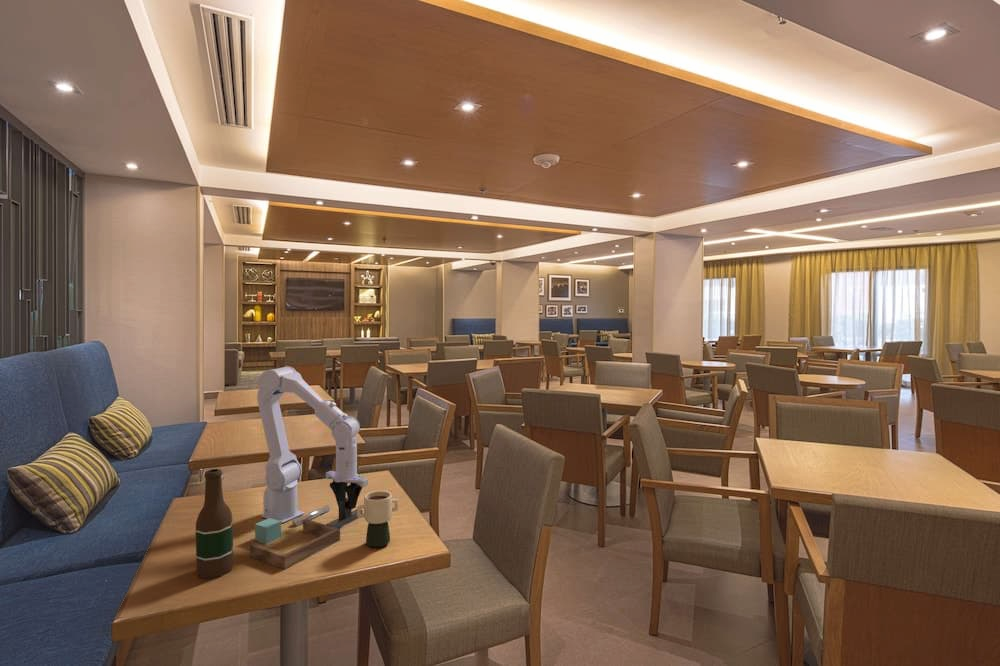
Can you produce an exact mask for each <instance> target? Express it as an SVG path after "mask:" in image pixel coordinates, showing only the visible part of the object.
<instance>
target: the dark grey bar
mask: <svg viewBox="0 0 1000 666" xmlns="http://www.w3.org/2000/svg"><path fill="white" fill-rule="evenodd" d="M338 502H339V507H338V518H336V519H334V520H332V521H330V522H328V523H326V525H328V526H331V527H335V528H338V529H340V528H342V527H344V526H346V525H348V524H350V523H352V522H354V521H356V520H358V519H359V518H358V517H357V509H355V510H350V509H349V507H348V497H346V498H343V499H341V500H339V501H338ZM361 514H363V510H362V509H361Z"/></svg>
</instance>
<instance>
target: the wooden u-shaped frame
mask: <svg viewBox="0 0 1000 666" xmlns="http://www.w3.org/2000/svg"><path fill="white" fill-rule="evenodd" d="M303 531H304V532H303ZM302 532H303V533H306V532H307V533H306V534H310V535H314V536H316V537H317V538H314V539H312V540H311V541H308V542H305V544H302V545H301V546H299V547H296V548H294V549H292V550H290V551H289V552H287V553H285V552H282V551H278V550H276V549H273V548H270V547H267V546H265V545H261V544H258V543H255V542H253V543H251V544H250V545H249V557H250V558H251V559H252V558H253V559H256V560H259V561H261V562H263V561H264V563H267V564H269V565H272V566H274V567H278V568H280V569H282V570H287V569H289V568H291V567H293V566H294V564H295V563H296V564H298V563H300V562H301V560H302V559H304V560H306V559H307V558H306V557H308V556H309V557H311V556H312V554H313V555H314V553H315V554H316V552H317V553H319V552H320V551H323V550H324V549H326V548H328V547H330V546H331V545H333V544H335V543H337V542H339V541H341V529H340V528H335V527H331V526H328V525H327V524H324V523H321V522H318V521H317V522H316V521H314V520H312V519H311V520H307V519H306V520H304V521H303V523H302ZM318 551H319V552H318ZM310 555H311V556H310ZM309 557H308V558H309ZM305 558H306V559H305ZM299 561H300V562H299ZM302 561H303V560H302ZM297 562H298V563H297ZM296 564H295V565H296ZM292 565H293V566H292ZM290 566H291V567H290Z"/></svg>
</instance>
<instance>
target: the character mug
mask: <svg viewBox="0 0 1000 666" xmlns="http://www.w3.org/2000/svg"><path fill="white" fill-rule="evenodd" d="M363 497H364V498H363V504H359V505H358V506H356V510H357V517H358V519H361V518H364V520H365V522H366V523H368V524H367V527H366V528H367V529H366V535H365V536H366V539H365V544H367V545H368V546H371V547H375V548H380V547H381V548H382V547H384V546H386V545H388V544H389V543H390V542H391V535H390V527H389V521H390V520H391V519H392V516H393V512H396V511H398V510H399V500H398V498H392V497H393V496H392V493H391V492H390V491H386V490H374V491H370V492H367V493H366V494H364V496H363ZM393 504H394V507H393ZM362 509H363V512H362V514H361V510H362Z"/></svg>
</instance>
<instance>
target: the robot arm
mask: <svg viewBox="0 0 1000 666" xmlns="http://www.w3.org/2000/svg"><path fill="white" fill-rule="evenodd" d="M257 384H258V392H257V394H256V400H257V405H258V410H259V414H260V418H261V423H262V427H263V431H264V435H265V440H266V441H265V442H266V445H267V450H268V453H269V458H268V461H267V463H266V464H265V479H264V480H265V481H264V482H265V484H266V486H267V487H266V488H265V489H264V491H263V501H262V502H263V503H262V504H263V513H262V514H261V515H260V517H261V518H264V519H268V518H272V519H275V520H278V521H281V524H283V523H286V522H288V521H291V520H294V519H296V518H299V516H300V517H301V516H303V515H305V511H302V510H299V508H298V483H299V479H300V477H301V476H302V473H303V468H302V465H301V464H300V462H299V461H298V458H297V455H296V454H294V453H293V452H292V451H290V446H289V443H288V438H287V432H286V428H285V427H286V426H285V423H284V419H283V414H282V410H281V406H280V402H279V401H280V399H281V398H282V396H283V395H284V394H285V393H293V394H295V395H296V396H298V398H300V399H301V400H302V401H303V402H305V403H306V404H307V405H309V406H310V407H311V408H312V409H314V416H315V417H316V418H317V419H318V420H319V421H321V422H322V423H323V424H324V425H325V426H326V427H327V428H329V430H331V436H332V437H333V439H334V440H335V464H336V465H335V470H329V471H326V472H325V479H326V480H332V481H331V482H330V483H329V488H330V489H331V490H332V492H333V494H334V497H335V500H336V504H337V507H338V508H339V502H338V501H339V500H341V499H343V498H348V507H349V509H350V510H351V511H353V509H357V503H358V499H359V496H360V493H361V492H362V490H363V488H366V487H368V486H369V478H366V477H364V476H362V475H360V474H358V454H357V453H358V450H357V449H358V443H357V441H358V440H357V437H358V436H357V435H358V433H359V432H360V430H361V425H360V422H359V420H358V419H357V417H354V416H349V415H348V414H347V413H345V412H344V411H342V410H341V409H340V408H339V407H338V406H337V403H336V402H335V401H331V400H324V399H323V398H322V397H321V396H320V395H319V394H318V393H317V392H316V391H315V390H314V389H313V388H312V387H311V386H310V385H309V384H308V383H307V382H306V381H305V380H304V379H303V377H302V375H301V373H300V372H298V371H296V369H295V368H293V366H289V365H286V366H283V367H278V368H277V367H276V368H272V369H265V370H264V371H263V372H262V373H261V374H260V376H259V377H258V378H257Z"/></svg>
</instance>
